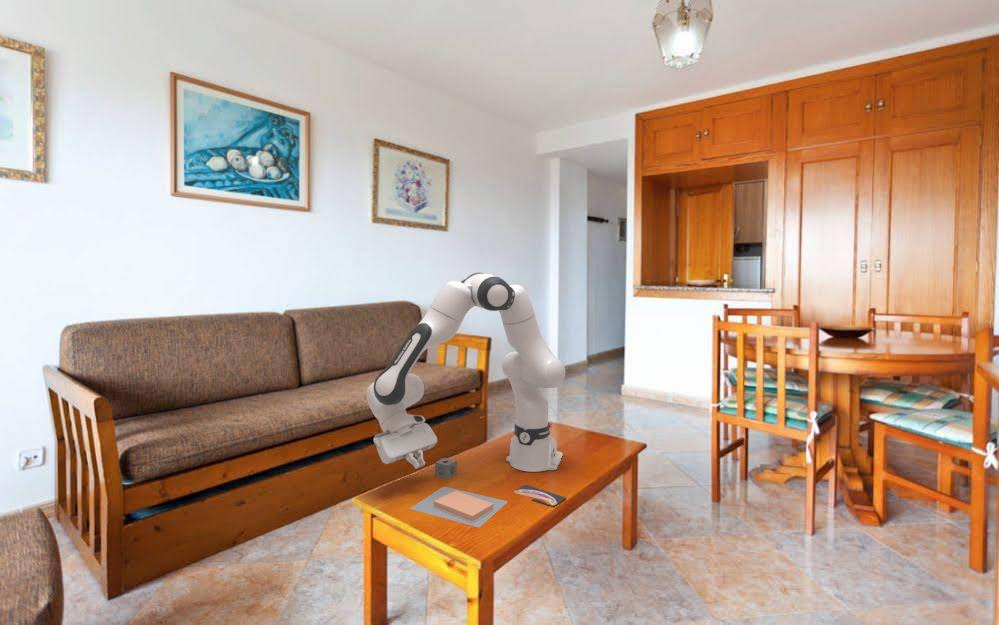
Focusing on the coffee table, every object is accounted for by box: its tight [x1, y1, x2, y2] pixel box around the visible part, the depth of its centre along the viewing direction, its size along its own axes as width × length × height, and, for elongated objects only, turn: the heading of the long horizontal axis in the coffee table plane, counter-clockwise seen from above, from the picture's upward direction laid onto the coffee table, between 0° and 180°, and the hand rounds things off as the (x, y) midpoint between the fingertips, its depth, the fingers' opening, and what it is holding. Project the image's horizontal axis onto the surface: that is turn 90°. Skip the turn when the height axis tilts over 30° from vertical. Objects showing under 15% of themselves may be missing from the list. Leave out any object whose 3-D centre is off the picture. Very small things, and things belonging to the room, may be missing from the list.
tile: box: [434, 490, 493, 523], centre depth 137 cm, size 2×9×14 cm
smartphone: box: [513, 484, 567, 508], centre depth 147 cm, size 8×1×15 cm
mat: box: [409, 485, 508, 528], centre depth 140 cm, size 17×22×1 cm
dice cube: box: [434, 457, 458, 480], centre depth 161 cm, size 5×5×5 cm
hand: (420, 466), depth 147 cm, fingers closed
